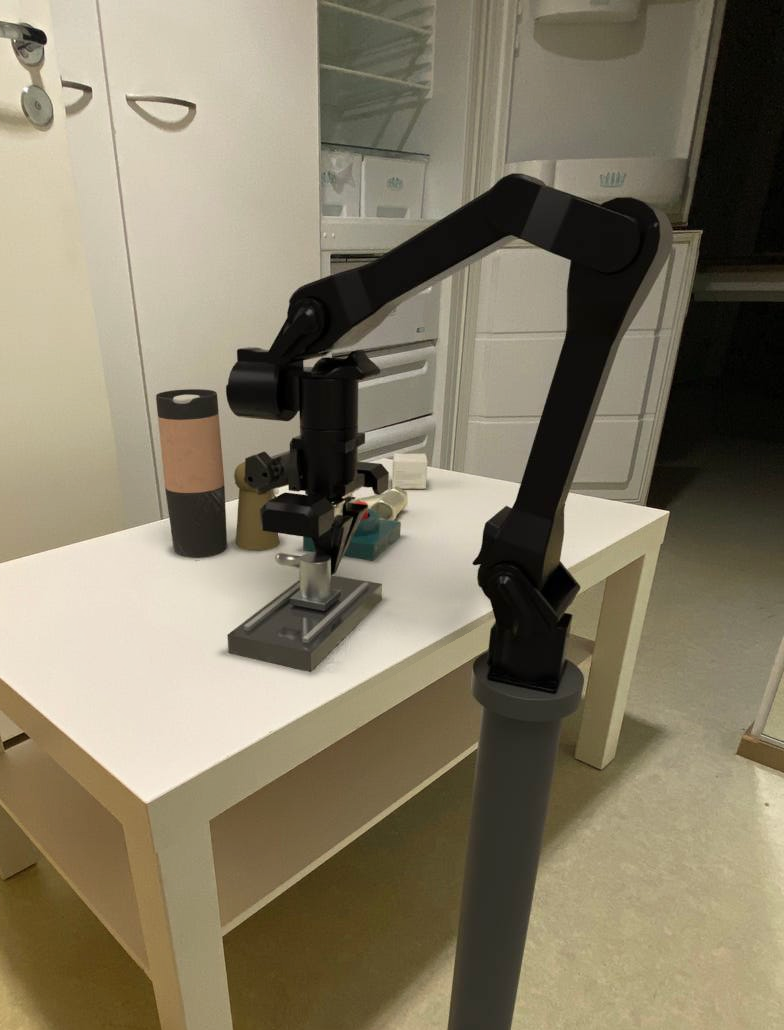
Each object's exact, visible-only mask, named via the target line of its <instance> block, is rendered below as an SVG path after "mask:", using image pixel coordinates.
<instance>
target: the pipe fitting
mask: <svg viewBox="0 0 784 1030" xmlns="http://www.w3.org/2000/svg"><path fill="white" fill-rule="evenodd" d="M356 501H361V502H365V503H367V504H368V509H371V510H374V511H376V512H378V514H379V516H380V519H382V520H390V521H395V519H397V515H398V514H399V513H400V512H401V511H402V510H405V509H406V508H407V507H408V506H409V505H408V504H409V495H408V492H407V491H405V490H404V489H401V488H399V487H397V486H396V487H394V488H390V489H388V490H386V491H385V492H383V493H382V494H381V495H376V494H374V495H369V496H364V497H359V498H356Z"/></svg>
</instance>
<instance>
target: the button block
mask: <svg viewBox="0 0 784 1030" xmlns="http://www.w3.org/2000/svg"><path fill="white" fill-rule="evenodd" d="M401 525H402V521H398V520H397V521H396V520H393V521H390V520H382V519H380V516H379V514H378V512H376V511H374V510H371V509H368V518H367V519H362V520H361V521H360V523H359V525H358V527H357V529H356V531H355V533H354V535H353V537H352V539H351V541H350V543H349V545H348V547H347V549H346V552H345V554H344V556H343V557H348V558H352V559H353V558H354V559H361V560H367V561H375V560H376V559H377V558H378V557H379V556H380V555H381V554H383V553H384V552H385V551H386V550H387V549H388V548H390V547H391V546H392V545H393V544H394V543H395V542H396V541H397V540H398V539H400V538H401V528H402V526H401ZM302 540H303V541H302V545H303V546H302V548H303V551H308V552H313V553H317V552H316V550H315V547H314V544H313V541H312V539H311V538H308V537H302Z"/></svg>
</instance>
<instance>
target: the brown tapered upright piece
mask: <svg viewBox="0 0 784 1030" xmlns="http://www.w3.org/2000/svg"><path fill="white" fill-rule="evenodd" d="M244 468H245V461H244V462H241V463H239V464H237V466H236V468H235V470H234V473H233V477H234V483H235V482H236V484H237V485H236V484H235V485H236V487H237V486H238V487H239V488H238V487H237V488H238V502H237V518H236V530H235V531H236V532H235V546H236V547H237V548H238V549H241V550H245V551H266V550H271V549H273V548H275V547H278V545H280V542H281V541H280V536H279V535H280V534H279V533H274V532H268V531H263V530H262V529H261V524H260V509H261V508H262V507H263V506H264V505H265V504H266V503H267V502H268V501H269V500H271V499H272V495H271V490H268V491H267V493H265V494H262V495H258V493H257V491H256V489H252V488H251V487H249V485H248V484H246V483H245V481H244V477H245V469H244Z"/></svg>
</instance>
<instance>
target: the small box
mask: <svg viewBox="0 0 784 1030" xmlns="http://www.w3.org/2000/svg"><path fill="white" fill-rule="evenodd" d="M391 471H392V474H391V475H392V476H391V487H392V488H394V487H396V486H397V487H399V488H401V489H402V490H404V489H406V490H408V489H412V490H413V489H416V490H417V489H418V490H419V489H420V490H426V489H427V479H428V458H427V454H426V453H393V456H392V470H391ZM392 488H391V489H392Z"/></svg>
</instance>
